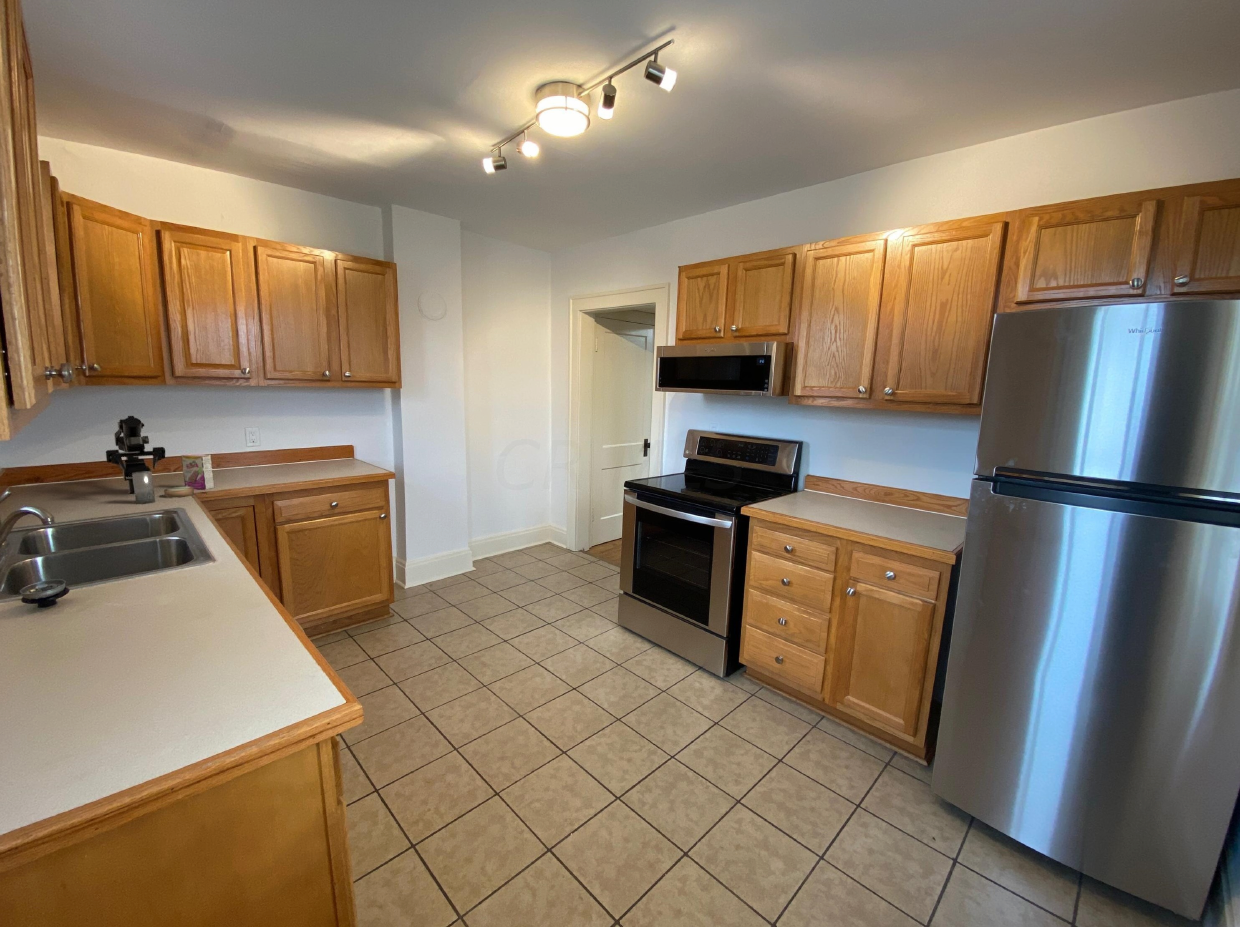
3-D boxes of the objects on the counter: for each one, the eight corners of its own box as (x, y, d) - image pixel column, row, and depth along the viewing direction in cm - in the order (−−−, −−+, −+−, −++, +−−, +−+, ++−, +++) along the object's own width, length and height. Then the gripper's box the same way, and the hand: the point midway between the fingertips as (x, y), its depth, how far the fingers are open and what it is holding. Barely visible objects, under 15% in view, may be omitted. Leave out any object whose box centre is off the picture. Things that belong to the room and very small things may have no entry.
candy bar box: (184, 488, 242) (180, 455, 239) (194, 486, 246) (190, 453, 244) (205, 489, 241) (201, 456, 238) (215, 487, 245) (211, 454, 243)
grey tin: (137, 501, 216) (133, 472, 214) (156, 500, 219) (152, 470, 217) (134, 504, 211) (130, 474, 209) (154, 503, 214) (150, 473, 212)
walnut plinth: (166, 494, 230) (165, 487, 229) (195, 492, 236) (194, 485, 235) (163, 498, 222) (162, 491, 221) (192, 496, 228) (191, 489, 227)
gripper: (102, 431, 212) (108, 460, 206) (162, 428, 226) (168, 456, 220) (104, 447, 218) (109, 476, 213) (161, 444, 232) (168, 471, 227)
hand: (139, 469), depth 218 cm, fingers open, 9 cm apart
